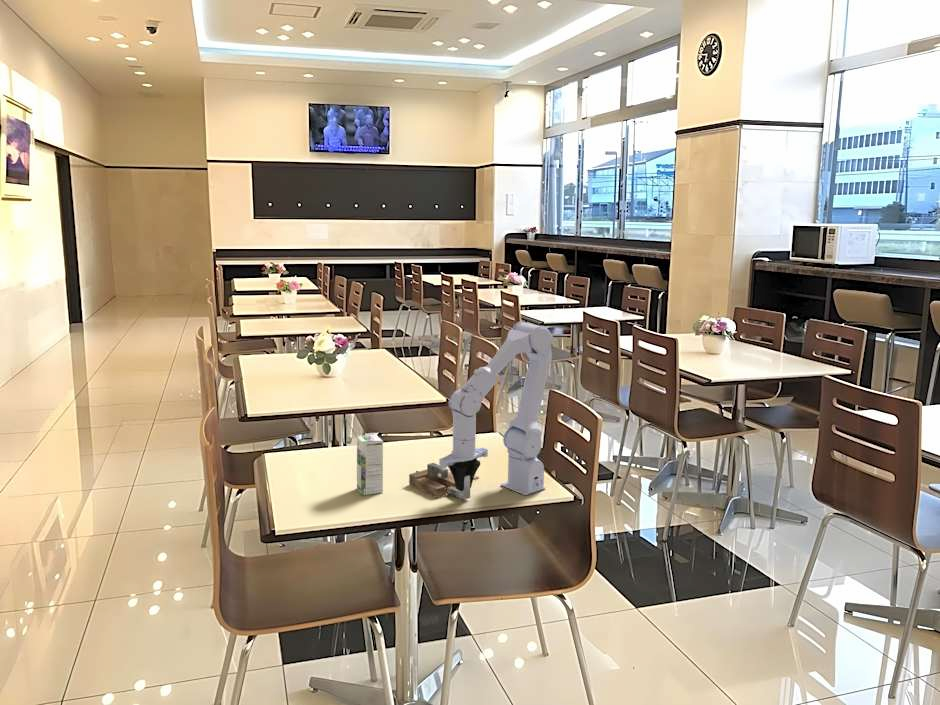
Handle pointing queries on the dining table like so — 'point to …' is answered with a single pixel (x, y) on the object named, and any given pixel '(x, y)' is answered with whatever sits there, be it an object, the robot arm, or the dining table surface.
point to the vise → (432, 480)
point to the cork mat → (452, 475)
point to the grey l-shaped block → (466, 491)
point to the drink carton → (369, 464)
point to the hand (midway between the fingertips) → (463, 488)
